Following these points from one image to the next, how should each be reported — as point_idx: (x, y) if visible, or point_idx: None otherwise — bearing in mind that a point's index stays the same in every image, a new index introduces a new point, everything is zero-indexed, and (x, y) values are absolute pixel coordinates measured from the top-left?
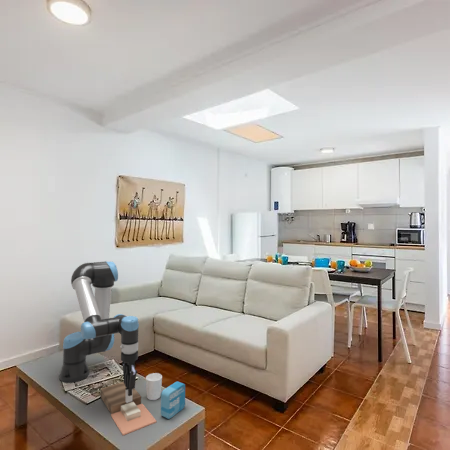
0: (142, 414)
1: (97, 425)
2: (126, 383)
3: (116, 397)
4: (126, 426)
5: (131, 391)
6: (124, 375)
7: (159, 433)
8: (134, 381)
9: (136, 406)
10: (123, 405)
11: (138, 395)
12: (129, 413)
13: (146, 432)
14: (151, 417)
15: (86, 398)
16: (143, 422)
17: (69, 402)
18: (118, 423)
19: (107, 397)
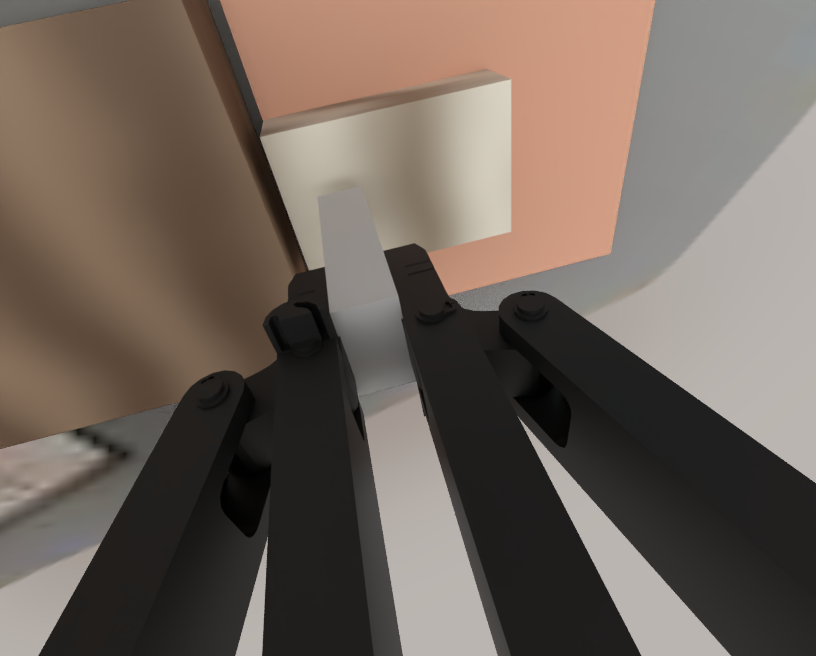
0: (462, 36)
1: (411, 382)
2: (365, 450)
3: (161, 330)
4: (546, 223)
5: (442, 288)
6: (234, 636)
7: None
8: (717, 440)
9: (392, 115)
10: (314, 256)
11: (137, 35)
12: (483, 211)
13: (707, 59)
14: None
15: (32, 470)
16: (593, 60)
17: (93, 529)
18: (477, 276)
19: (150, 400)
